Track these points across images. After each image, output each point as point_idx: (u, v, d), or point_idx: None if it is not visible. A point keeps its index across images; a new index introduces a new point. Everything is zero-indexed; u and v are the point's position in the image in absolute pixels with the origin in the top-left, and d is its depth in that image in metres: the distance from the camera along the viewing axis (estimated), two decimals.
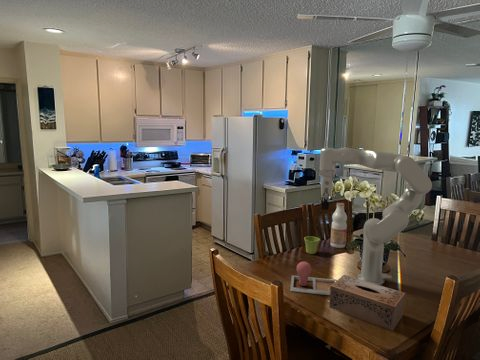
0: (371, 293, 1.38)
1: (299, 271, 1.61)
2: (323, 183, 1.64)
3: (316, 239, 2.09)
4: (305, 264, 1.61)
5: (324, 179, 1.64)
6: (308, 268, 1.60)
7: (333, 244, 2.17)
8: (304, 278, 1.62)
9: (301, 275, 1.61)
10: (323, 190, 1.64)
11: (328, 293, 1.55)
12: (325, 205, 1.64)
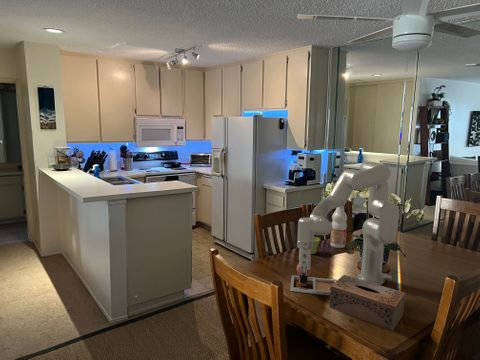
0: (371, 293, 1.38)
1: (299, 271, 1.61)
2: (301, 256, 1.58)
3: (316, 239, 2.09)
4: None
5: (302, 252, 1.57)
6: None
7: (333, 244, 2.17)
8: None
9: None
10: (301, 263, 1.58)
11: (328, 293, 1.55)
12: (303, 279, 1.59)
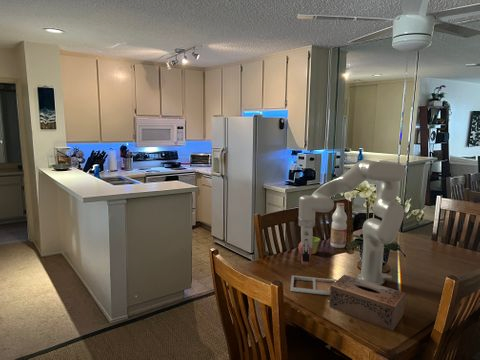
0: (371, 293, 1.38)
1: (301, 249, 1.59)
2: (303, 234, 1.56)
3: (316, 239, 2.09)
4: None
5: (303, 230, 1.56)
6: None
7: (333, 244, 2.17)
8: None
9: None
10: (303, 241, 1.56)
11: (328, 293, 1.55)
12: (305, 257, 1.57)
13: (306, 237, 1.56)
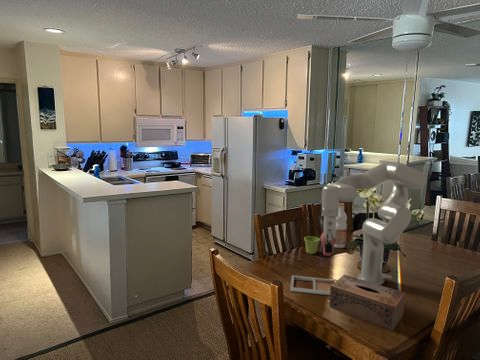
0: (371, 293, 1.38)
1: (324, 240, 1.56)
2: (326, 224, 1.53)
3: (316, 239, 2.09)
4: None
5: (327, 220, 1.53)
6: None
7: None
8: None
9: None
10: (326, 231, 1.53)
11: (328, 293, 1.55)
12: (328, 248, 1.55)
13: (330, 227, 1.53)
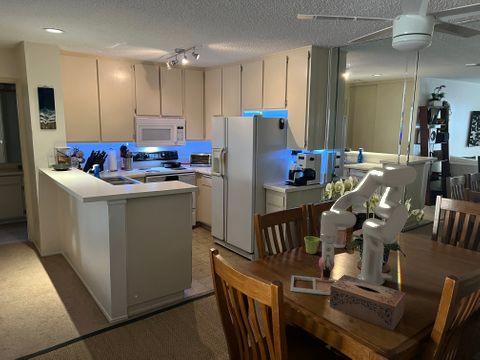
0: (371, 293, 1.38)
1: (322, 265, 1.58)
2: (324, 249, 1.55)
3: (316, 239, 2.09)
4: None
5: (325, 245, 1.55)
6: None
7: None
8: None
9: None
10: (324, 257, 1.55)
11: (328, 293, 1.55)
12: (326, 273, 1.56)
13: (328, 253, 1.55)
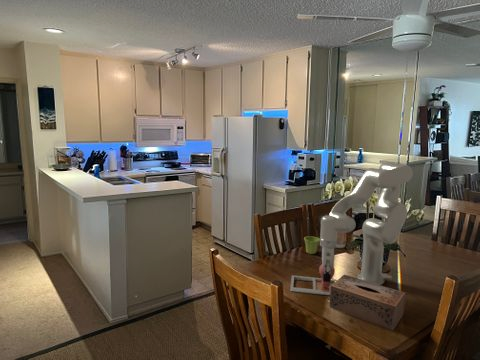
0: (371, 293, 1.38)
1: (322, 272, 1.59)
2: (324, 254, 1.55)
3: (316, 239, 2.09)
4: None
5: (325, 250, 1.55)
6: (331, 269, 1.58)
7: None
8: None
9: None
10: (324, 262, 1.56)
11: (328, 293, 1.55)
12: (327, 277, 1.56)
13: (328, 258, 1.55)
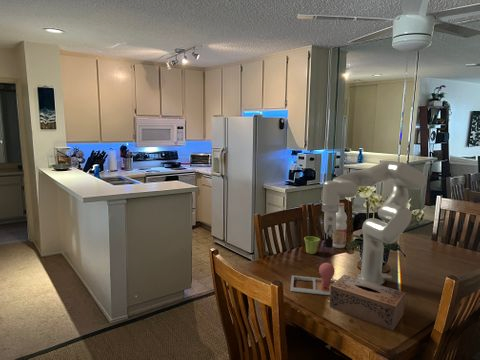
0: (371, 293, 1.38)
1: (322, 272, 1.59)
2: (326, 219, 1.53)
3: (316, 239, 2.09)
4: (328, 265, 1.59)
5: (327, 215, 1.53)
6: (331, 269, 1.58)
7: (333, 244, 2.17)
8: (327, 280, 1.60)
9: (324, 276, 1.59)
10: (327, 227, 1.53)
11: (328, 293, 1.55)
12: (329, 243, 1.53)
13: (330, 223, 1.52)
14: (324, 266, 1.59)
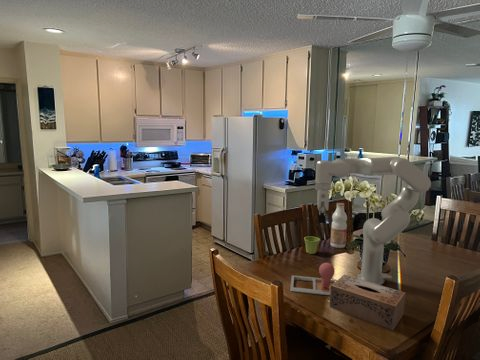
0: (371, 293, 1.38)
1: (322, 272, 1.59)
2: (319, 196, 1.62)
3: (316, 239, 2.09)
4: (328, 265, 1.59)
5: (320, 192, 1.62)
6: (331, 269, 1.58)
7: (333, 244, 2.17)
8: (327, 280, 1.60)
9: (324, 276, 1.59)
10: (319, 203, 1.62)
11: (328, 293, 1.55)
12: (322, 219, 1.62)
13: (323, 199, 1.61)
14: (324, 266, 1.59)
